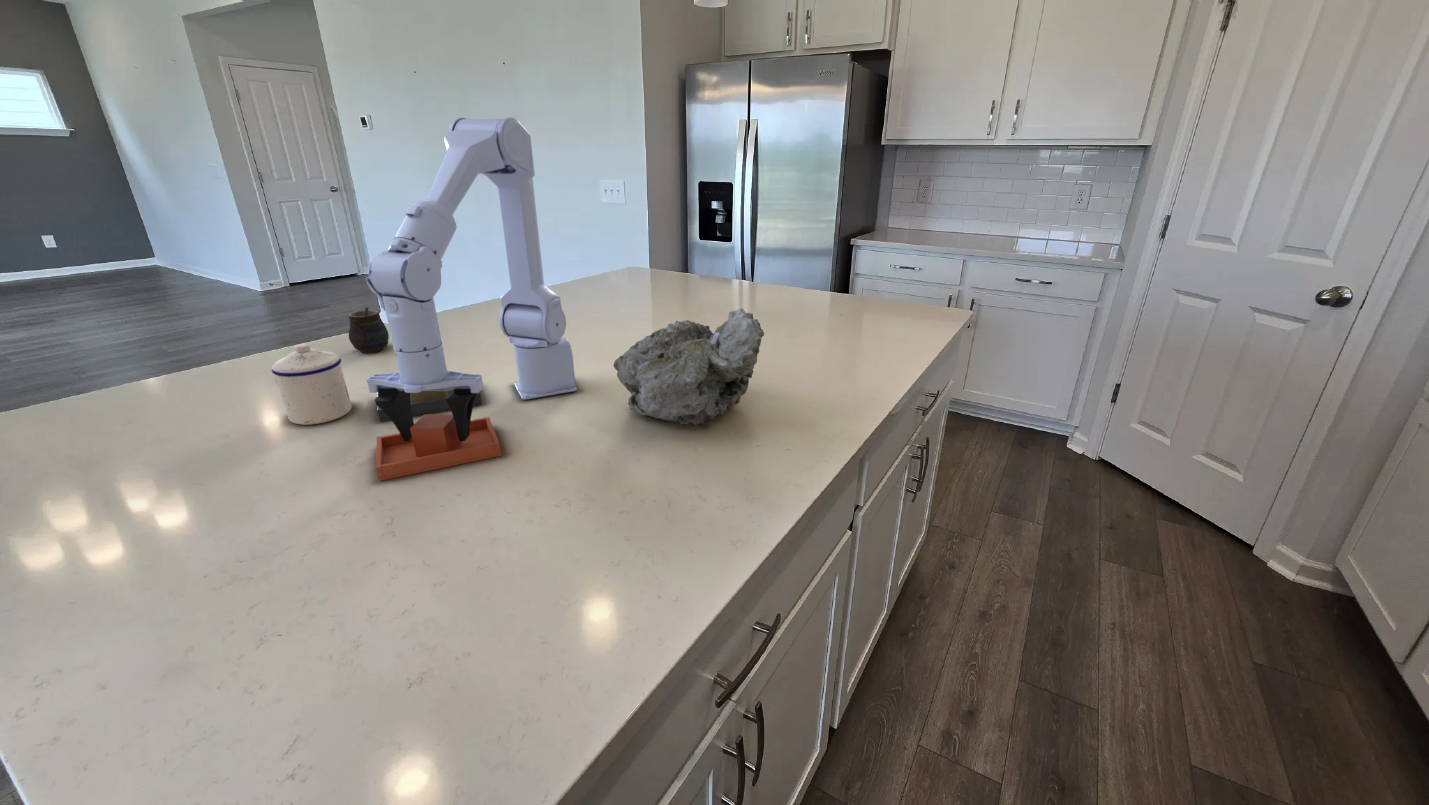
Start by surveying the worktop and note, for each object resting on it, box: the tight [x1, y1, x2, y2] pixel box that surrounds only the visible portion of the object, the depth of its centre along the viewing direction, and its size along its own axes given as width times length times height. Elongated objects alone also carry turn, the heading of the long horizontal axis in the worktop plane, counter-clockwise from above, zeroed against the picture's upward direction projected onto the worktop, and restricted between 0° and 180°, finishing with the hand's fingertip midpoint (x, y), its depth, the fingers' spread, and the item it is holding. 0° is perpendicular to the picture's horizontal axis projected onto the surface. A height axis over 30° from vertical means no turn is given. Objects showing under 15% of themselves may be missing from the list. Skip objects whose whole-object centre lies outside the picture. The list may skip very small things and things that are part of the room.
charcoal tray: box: [376, 391, 483, 422], centre depth 99 cm, size 15×10×2 cm, turn 118°
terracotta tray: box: [375, 416, 502, 482], centre depth 82 cm, size 15×10×2 cm, turn 118°
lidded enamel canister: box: [271, 343, 352, 426], centre depth 92 cm, size 12×9×12 cm
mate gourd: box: [348, 306, 390, 354], centre depth 122 cm, size 7×8×10 cm
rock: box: [613, 308, 765, 426], centre depth 93 cm, size 24×17×25 cm
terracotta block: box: [410, 413, 461, 457], centre depth 82 cm, size 4×4×4 cm
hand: (437, 438), depth 82 cm, fingers open, 7 cm apart
